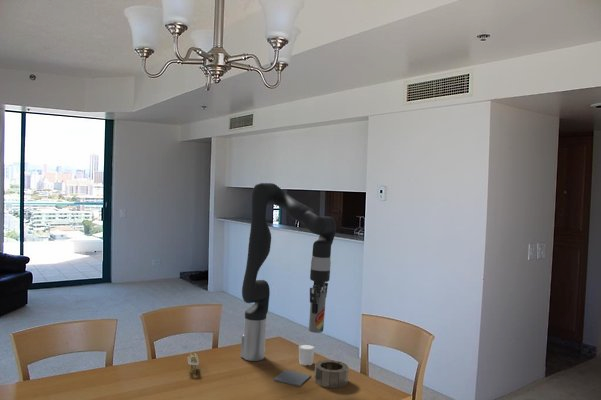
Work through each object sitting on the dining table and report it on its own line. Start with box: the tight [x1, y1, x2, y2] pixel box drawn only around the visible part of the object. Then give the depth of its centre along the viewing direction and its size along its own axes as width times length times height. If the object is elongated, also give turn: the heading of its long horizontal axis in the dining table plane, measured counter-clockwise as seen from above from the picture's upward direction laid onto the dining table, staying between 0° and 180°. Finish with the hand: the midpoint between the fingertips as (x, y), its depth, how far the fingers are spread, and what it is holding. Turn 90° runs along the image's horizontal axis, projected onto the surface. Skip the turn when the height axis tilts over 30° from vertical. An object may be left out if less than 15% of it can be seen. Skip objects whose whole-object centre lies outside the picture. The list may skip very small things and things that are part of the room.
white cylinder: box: [298, 344, 316, 367], centre depth 206 cm, size 7×7×7 cm
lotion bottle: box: [308, 282, 327, 334], centre depth 188 cm, size 6×6×20 cm
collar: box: [313, 359, 349, 389], centre depth 188 cm, size 12×12×6 cm
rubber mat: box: [273, 369, 312, 387], centre depth 189 cm, size 11×11×1 cm
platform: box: [187, 352, 200, 375], centre depth 192 cm, size 12×18×7 cm, turn 15°
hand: (317, 311), depth 188 cm, fingers closed on lotion bottle, 5 cm apart
